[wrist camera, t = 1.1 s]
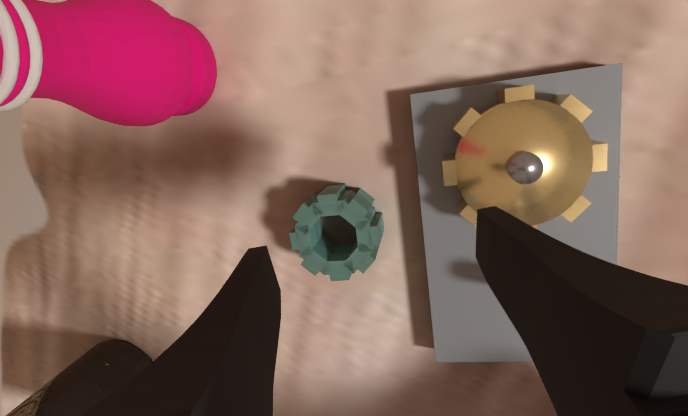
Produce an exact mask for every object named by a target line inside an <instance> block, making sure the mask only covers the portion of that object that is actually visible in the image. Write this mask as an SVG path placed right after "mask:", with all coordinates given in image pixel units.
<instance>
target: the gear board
mask: <svg viewBox="0 0 688 416" xmlns="http://www.w3.org/2000/svg"><path fill="white" fill-rule="evenodd" d="M528 85H534V95H535V99H533V100H542V101H548V102H551V101H552V100H553V99H554V98H555V97H556V96H557V95H558V94H572V95H573V96H574V97H575V98H577V99H578V100H579V101H580V102H582V103H583V104H584V105H585V106H587V107H588V108H589V109H590V110H592V111H593V112H592V113H591V114H590V115H589V116H588V117H587V118H586V119H585V120H584V121H583V122H582V123H581V124H582V125H583V126H584V128H585V130H586V131H587V133H588V136H589V138H590V140H591V139H592V140H596V141H600V142H604V143H608V151H607V171H598V172H591V175H590V178H589V181H588V183H587V185H586V187H585V189H584V191H583V193H582V194H581V195H582V196H583V197H584V198H586V199H587V200H588V201H589V202H591V203H592V204H591V205H589V206H588V207H587V208H586V209H585V210H584V211H583V212H582V213H581V214H580V215H579V216H578V217H577V218H576V219H575V220H573V221H572V222H569V221H568V220H567V219H566V218H564V217H563V216H562V215H561V214H560V215H559V216H557V217H555V218H553V219H551V220H549V221H547V222H544V223H541V224H537V225H538V230H539V231H541V232H543V233H545V234H547V235H549V236H551V237H553V238H555V239H557V240H559V241H561V242H563V243H565V244H567V245H569V246H571V247H573V248H575V249H578V250H580V251H582V252H585V253H587V254H589V255H592V256H594V257H597V258H599V259H602V260H604V261H607V262H610V263H612V264H615V265H617V236H618V200H619V164H620V128H621V92H622V63H618V64H611V65H605V66H598V67H591V68H584V69H578V70H571V71H564V72H557V73H551V74H544V75H537V76H530V77H524V78H517V79H510V80H503V81H497V82H490V83H483V84H477V85H470V86H463V87H456V88H450V89H443V90H436V91H429V92H423V93H416V94H410V100H411V111H412V121H413V131H414V142H415V152H416V163H417V173H418V183H419V194H420V204H421V214H422V225H423V235H424V246H425V256H426V266H427V277H428V287H429V298H430V308H431V318H432V329H433V339H434V349H435V360H436V362H533V360H532V358H531V356H530V354H529V352H528V350H527V348H526V346H525V344H524V342H523V340H522V339H521V337H520V335H519V333H518V332H517V330H516V329H515V327H514V325H513V324H512V322H511V321H510V319H509V317H508V316H507V314H506V313H505V311H504V309H503V308H502V306H501V305H500V303H499V301H498V300H497V298H496V297H495V295H494V293H493V292H492V290H491V288H490V287H489V285H488V283H487V282H486V280H485V277H484V275H483V273H482V271H481V269H480V266H479V264H478V262H477V259H476V257H475V253H476V227H475V226H474V225H473V224H471V223H470V222H469V221H468V220H466V219H465V218H464V217H462V216H461V215H460V214H459V212H458V208H457V204H458V203H459V202H460V200H461V199H462V198H463V196H462V194H461V192H460V190H459V187H458V185H452V186H444V183H443V178H442V166H441V156H449V155H453V154H454V149H455V145H456V143H457V140H458V138H459V136H460V134H459V133H457V132H456V131H455V130H454V129H453V128H452V127H451V126H452V124H453V123H454V122H455V121H456V120H457V118H458V117H459V116H460V115H461V114H462V112H463V111H464V110H465V109H466V108H467V107H471V108H473V109H474V110H475V111H476V112H478V113H480V112H481V111H483V110H485V109H486V108H488V107H490V106H492V105H494V104H497V103H498V90H500V89H506V88H513V87H520V86H528Z"/></svg>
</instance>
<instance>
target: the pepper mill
mask: <svg viewBox="0 0 688 416" xmlns="http://www.w3.org/2000/svg"><path fill="white" fill-rule="evenodd" d="M216 78H217V69H216V60H215V57H214V54H213V50H212V48H211V46H210V44H209V42H208V41H207V39H206V38H205V37H204V35H203V34H202V33H201V32H200V31H199V30H198V29H197V28H196V27H195V26H193V25H191V24H190V23H188V22H186V21H184V20H181V19H178V18H175V17H172V16H171V15H170V14H169V13H168V12H167V11H165V10H164V9H163V8H162V7H161V6H159V5H157V4H156V3H154V2H152V1H151V0H67V1H64V2H60V3H49V2H44V1H38V0H0V111H8V110H12V109H15V108H17V107H19V106H21V105H22V104H24V103H25V102H26V101H28V100H29V98H49V99H53V100H57V101H61V102H63V103H66V104H68V105H71V106H73V107H75V108H77V109H79V110H81V111H83V112H85V113H87V114H89V115H91V116H93V117H96V118H98V119H101V120H104V121H108V122H111V123H114V124H119V125H124V126H149V125H154V124H157V123H160V122H163V121H165V120H167V119H168V118H170V117H171V116H179V115H187V114H190V113H193V112H195V111H197V110H198V109H200V108H201V107H202V106H203V105H204V104H206V102H207V101H208V100H209V98H210V97H211V95H212V92H213V90H214V87H215V83H216Z"/></svg>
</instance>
